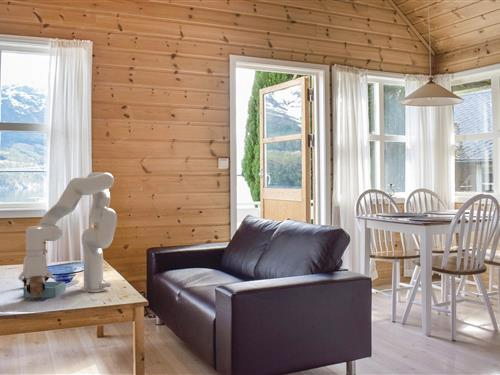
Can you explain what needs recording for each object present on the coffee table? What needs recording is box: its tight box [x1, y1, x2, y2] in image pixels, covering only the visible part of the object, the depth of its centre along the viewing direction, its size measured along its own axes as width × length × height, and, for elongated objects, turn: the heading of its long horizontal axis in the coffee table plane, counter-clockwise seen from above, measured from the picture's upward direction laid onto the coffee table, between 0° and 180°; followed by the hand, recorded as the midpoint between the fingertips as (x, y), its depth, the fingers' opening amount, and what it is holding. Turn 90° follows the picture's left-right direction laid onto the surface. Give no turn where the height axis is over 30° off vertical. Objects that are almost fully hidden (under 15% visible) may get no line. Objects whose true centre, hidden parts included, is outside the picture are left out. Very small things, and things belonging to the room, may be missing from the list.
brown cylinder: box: [30, 276, 42, 297], centre depth 234 cm, size 5×5×9 cm
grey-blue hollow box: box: [20, 296, 50, 302], centre depth 234 cm, size 11×7×5 cm, turn 89°
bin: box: [23, 281, 67, 298], centre depth 245 cm, size 15×13×6 cm
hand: (35, 291), depth 235 cm, fingers closed on brown cylinder, 5 cm apart
